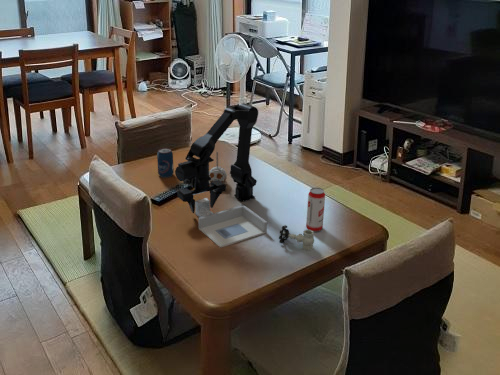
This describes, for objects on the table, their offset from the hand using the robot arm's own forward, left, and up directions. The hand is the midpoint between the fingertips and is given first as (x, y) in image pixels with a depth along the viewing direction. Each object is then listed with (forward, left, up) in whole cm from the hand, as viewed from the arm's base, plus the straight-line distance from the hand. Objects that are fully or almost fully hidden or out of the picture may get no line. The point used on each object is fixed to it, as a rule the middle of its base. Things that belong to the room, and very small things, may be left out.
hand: (202, 210), depth 226 cm
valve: (-17, +39, -2) cm, 42 cm away
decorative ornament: (-19, -20, -2) cm, 28 cm away
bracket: (0, +3, -2) cm, 3 cm away
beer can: (-30, +33, -2) cm, 44 cm away
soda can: (-4, -40, -2) cm, 41 cm away
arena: (-3, +18, -2) cm, 18 cm away
